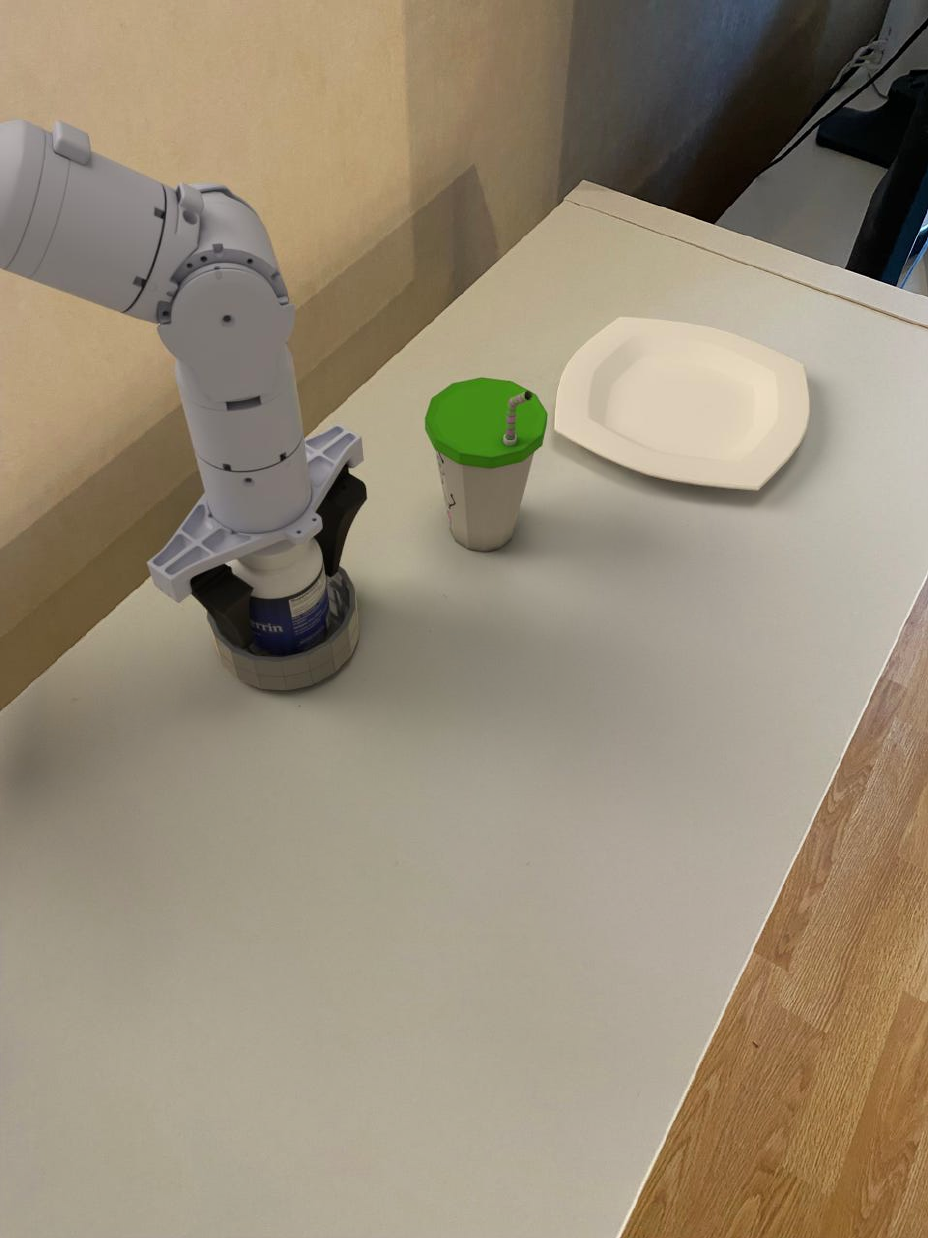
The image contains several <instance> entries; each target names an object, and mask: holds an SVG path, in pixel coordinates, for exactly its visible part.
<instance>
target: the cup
mask: <svg viewBox="0 0 928 1238" xmlns="http://www.w3.org/2000/svg"><path fill="white" fill-rule="evenodd" d="M548 415H549V414H548V412H547V410H546V408H545V407H544V405H543V404H542V402H541V400H540V399H539V397H538V395H537V394H536V393H534V392H532V391H530V390H529V389H527V388H525V387H523V386H521V385H520V384H518V383H516V382H515V381H511V380H507V379H497V378H491V377H490V378H489V377H482V376H481V377H476V378H472V379H467V380H461V381H457V382H453V383H451V384H449V385H448V386H447V387H445V388H444V389H442V390H441V391H440V392H438V393H437V394H435V395H434V396H432V397H431V399H430V402H429V404H428V407H427V411H426V414H425V416H424V430H425V432H426V434H427V436H428V438H429V440H430V443H431V445H432V447H433V448H434V451H435V457H436V461H437V468H438V472H439V479H440V482H441V483H440V484H441V489H442V493H443V498H444V505H445V510H446V514H447V520H448V524H449V530H450V532H451V534H452V537H453V539H454V541H455V542H456V543H458V544H459V545H461V546H462V547H464V548H465V549H467V550H469V551H475V552H481V553H487V552H492V551H495V550H501V549H502V548H503V547H504V546H505V545H507V544H508V543H509V542H511V540H512V539H513V536H514V531H515V529H516V524H517V520H518V516H519V513H520V509H521V505H522V501H523V497H524V494H525V491H526V490H525V488H526V486H527V483H528V479H529V474H530V470H531V467H532V463H533V458H534V455H535V452H536V451H537V450H539V449H540V448H542V446H543V443H544V439H545V434H546V430H547V425H548Z"/></svg>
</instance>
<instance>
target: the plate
mask: <svg viewBox="0 0 928 1238" xmlns="http://www.w3.org/2000/svg"><path fill="white" fill-rule="evenodd" d="M810 417H811V397H810V390H809V384H808V378H807V373H806V367H805V365H804V363H802V362H800V361H798V360H796V359H794V358H791V357H790V356H787V355H785V354H784V353H781V352H779V351H776V350H774V349H772V348H770V347H768V346H766V345H764V344H760V343H758V342H756V341H753V340H751V339H748V338H746V337H743V336H740V335H738V334H735V333H731V332H729V331H725V330H722V329H719V328H716V327H711V326H705V325H701V324H696V323H690V322H683V321H675V320H666V319H658V318H657V319H656V318H648V317H647V318H646V317H631V316H619V317H617V318H616V319H614V320H613V321H611V322H610V323H609V324H608V325H605V327H603V328H602V329H601V330H599V331H598V332H597V333H596V334H595V335H593V336H592V337H590V338H589V339H588V340H587V341H586V342H585V343H584V344H582V346H581V347H580V348H578V349H577V351H576V352H575V353H574V354H573V355H572V357H571V358H570V360H568V362H567V364H566V365H565V367H564V369H563V371H562V374H561V376H560V379H559V382H558V388H557V391H556V399H555V409H554V425H553V429H554V432H555V433H557V434H558V435H561V436H562V437H564V438H566V439H567V440H569V441H571V442H573V443H575V444H577V445H578V446H580V447H582V448H585V450H588V451H590V452H592V453H594V454H595V455H597V456H599V457H601V458H604V459H606V460H608V461H610V462H612V463H614V464H617V465H619V466H622V467H624V468H627V469H629V470H632V471H634V472H637V473H640V474H643V475H645V476H650V477H654V478H658V479H663V480H666V481H671V482H676V483H684V484H691V485H695V486H703V487H712V488H713V487H714V488H720V489H721V488H722V489H723V488H724V489H730V490H731V489H732V490H747V491H759V490H760V489H761V488H763V486H764V485H765V484H766V483H767V482H769V480H770V479H771V478H773V476H775V474H777V472H779V470H781V468H782V467H784V465H785V464H786V463H787V462H788V461H789V460H790V458H791V457H792V456H793V455H794V453H795V452H796V450H797V449H798V448H799V446H800V445H801V443H802V441H803V439H804V437H805V435H806V433H807V431H808V426H809V423H810Z"/></svg>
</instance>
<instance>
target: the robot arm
mask: <svg viewBox="0 0 928 1238" xmlns="http://www.w3.org/2000/svg"><path fill="white" fill-rule="evenodd" d="M0 270H3V271H6V272H8V273H11V274H14V275H17V276H20V277H22V278H24V279H27V280H30V281H33V282H35V283H38V284H40V285H44V286H47V287H49V288H51V289H54V290H57V291H59V292H63V293H66V294H68V295H71V296H74V297H76V298H79V299H82V300H85V301H87V302H90V303H92V304H95V305H98V306H101V307H103V308H105V309H109V310H113V311H115V312H117V313H119V314H123V315H125V316H127V317H131V318H134V319H137V320H139V321H144V322H148V323H151V324H155V325H157V327H156V331H157V334H158V336H159V338H160V340H161V342H162V344H163V345H164V347H165V348H166V349H167V350H168V351H169V353H170V354H171V355H172V356H174V357H175V360H174V361H175V362H174V377H175V381H176V385H177V389H178V394H179V397H180V401H181V405H182V409H183V412H184V416H185V420H186V424H187V428H188V431H189V436H190V439H191V440H190V441H191V444H192V447H193V452H194V456H195V459H196V462H197V466H198V467H197V468H198V471H199V475H200V478H201V482H202V486H203V489H204V492H203V494H202V495H201V497H199V500H198V501H197V502H196V504H195V505H194V506H193V508H192V509H191V510H190V512H189V513H188V515H187V516H186V517H185V519H184V520H183V522H182V523H181V524H180V526H179V527H178V529H177V530H176V531H175V532H174V534H173V535H172V537H171V538H170V539H169V540H168V542H167V543H166V544H165V545H164V547H162V549H161V550H160V551H159V552H158V553H156V554H155V555H154V556H153V557H151V558H150V559H149V560H147V561H146V564H147V567H148V570H149V574H150V576H151V579H152V582H153V585H154V587H155V588H157V589H158V590H159V591H161V592H162V593H163V594H165V595H166V596H167V597H168V598H170V599H172V600H173V601H175V602H176V603H177V604H180V603H182V602H183V601H184V600H185V599H186V598H189V596H190V595H192V596H193V598H195V599H196V600H197V601H198V603H199V604H200V605H201V606H202V607H203V608H204V609H205V610H206V612H207V611H208V612H209V614H210V615H211V616H212V618H213V619H214V621H215V622H216V624H217V625H218V627H219V628H220V630H221V632H222V634H223V635H224V636H226V637H227V638H228V639H230V640H231V641H233V642H234V643H235V644H237V645H238V646H239V647H241V648H242V649H246V648H247V647H249V646H250V645H251V644H252V643H253V631H252V626H251V622H250V618H249V601H250V597H251V593H252V591H253V589H254V588H253V587H252V586H250V585H249V584H248V583H246V582H245V581H243V580H242V579H240V578H239V577H238V576H236V575H235V574H233V572H232V568H231V567H230V566H227V565H226V563H227V562H229V561H232V560H234V559H237V558H239V557H242V556H244V555H247V554H249V553H252V552H254V551H257V550H259V549H262V548H264V547H267V546H269V545H272V544H274V543H277V542H279V541H282V540H288V541H290V542H291V543H293V544H296V545H302V544H304V543H306V542H307V541H309V540H310V539H311V538H312V537H314V538H315V540H316V541H317V543H318V544H319V546H320V549H321V552H322V556H323V563H324V570H325V574H326V575H327V576H329V577H330V578H331V577H332V576H334V575H335V574H336V573H337V572H338V569H339V566H341V565H340V564H341V560H342V556H343V552H344V547H345V544H346V540H347V537H348V534H349V531H350V529H351V526H352V524H353V522H354V521H355V518H356V516H357V515H358V513H359V511H360V509H361V508H362V507H363V506H364V504H365V502H366V501H367V500H368V492H367V485H366V484H365V482H364V481H363V480H362V479H360V478H358V477H357V476H355V475H353V474H351V473H350V469H355V468H356V467H358V466H359V465H360V464H362V463H363V462H364V461H365V460H364V459H365V458H364V449H363V437H362V435H360V434H358V433H356V432H354V431H352V430H351V429H349V428H347V427H346V426H344V425H342V424H340V423H338V422H336V423H335V424H333V425H332V426H331V427H329V428H327V429H326V430H324V431H322V432H320V433H318V434H315V435H312V436H310V437H307V438H305V435H304V427H303V426H304V425H303V420H302V413H301V412H302V411H301V406H300V399H299V393H298V386H297V377H296V372H295V365H294V357H293V355H292V353H291V350H290V348H289V347H288V342H289V339H290V337H291V334H292V332H293V329H294V326H295V322H296V306H295V304H294V303H291V302H290V297H289V291H288V289H287V286H286V283H285V280H284V279H285V278H284V276H283V274H282V271H281V268H280V265H279V262H278V259H277V255H276V253H275V250H274V247H273V244H272V241H271V238H270V235H269V232H268V229H267V228H266V225H265V224H264V223H263V220H262V219H261V217H260V216H259V214H258V213H257V211H256V210H255V209H254V208H253V206H252V205H250V203H248V202H247V200H245V199H243V198H242V197H240V196H238V195H236V194H235V193H233V192H232V191H231V189H230V188H229V187H228V186H227V185H225V184H221V183H216V182H195V183H189V184H186V183H184V182H182V181H181V182H178V183H177V185H176V187H171V186H170V185H167V184H165V183H163V182H161V181H159V180H157V179H154V178H153V177H150V176H148V175H146V174H145V173H144V174H143V173H141V172H139V171H137V170H134V169H132V168H131V167H128V166H126V165H124V164H122V163H119V162H117V161H115V160H113V159H111V158H109V157H107V156H104V155H102V154H100V153H98V152H96V151H93V150H92V149H91V141H90V135H89V134H88V133H87V132H86V131H84V130H82V129H80V128H78V127H76V126H74V125H71V124H69V123H67V122H65V121H62V120H57V121H55V123H54V126H53V128H52V131H49V130H47V129H45V128H43V127H41V126H38V125H36V124H34V123H32V122H30V121H28V120H25V119H23V118H15V119H10V120H7V121H4V122H1V123H0Z"/></svg>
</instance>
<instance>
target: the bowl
mask: <svg viewBox="0 0 928 1238" xmlns="http://www.w3.org/2000/svg"><path fill="white" fill-rule="evenodd" d="M325 577H326V584H327V590H328V598H329V604H330V612H331V620H332V627H331V632H330V635H329V638H328V640H327V641H325V642H323V643H322V644H320V645H318V646H316V647H314V648H312V649H310V650H308V651H307V652H303V653H299V654H294V655H289V656H285V657H270V656H257V655H256V654H255V653H253V652H252V651H251V650H250V648H249V647H247V648H246V649H242V648H241V647H239V646H238V645H237V644H235V643H234V642H233V641H231V640H230V639H228V638H227V637H226V636H224V635H223V634H222V632H221V630H220V628H219V627H218V625H217V624H216V622H215V621H214V619H213V618H212V616H211V615H210V614H209V612H208V611H207V610H206V620H207V624H208V628H209V630H210V631H209V632H210V634H211V638H212V641H213V644H214V647H215V651H216V652H217V654H218V657H219V659H220V662H221V664H222V665H223V667H224V668H225V669H226V670H227V671H228V672H230V673H231V674H232V675H233V676H234V677H235V678H236V679H237V680H238V681H241V682H243V683H246V684H248V685H251V686H253V687H255V688H258V689H262V690H272V691H273V690H274V691H292V690H296V689H297V690H298V689H301V688H306V687H309V686H313V685H315V684H317V683H319V682H321V681H323V680H324V679H326V678H328V677H330V676H332V675H334V674H335V673H337V672H338V670H340V669H341V667H343V665H344V664H345V663H346V662H347V661H348V660H349V659H350V658H351V657H352V655H353V652H354V650H355V647H356V645H357V642H358V640H359V637H360V625H359V622H360V621H359V612H358V611H359V610H358V602H357V595H356V587H355V585H354V583H353V581H352V580H351V577H350V576H349V574H348V572H347V571H346V570H345V568H343V567H342V566H341V565H339V569H338V572H337V573H336V574H335V575H334V576H332V577H331V578H330V577H329V576H327V575H326V574H325Z"/></svg>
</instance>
